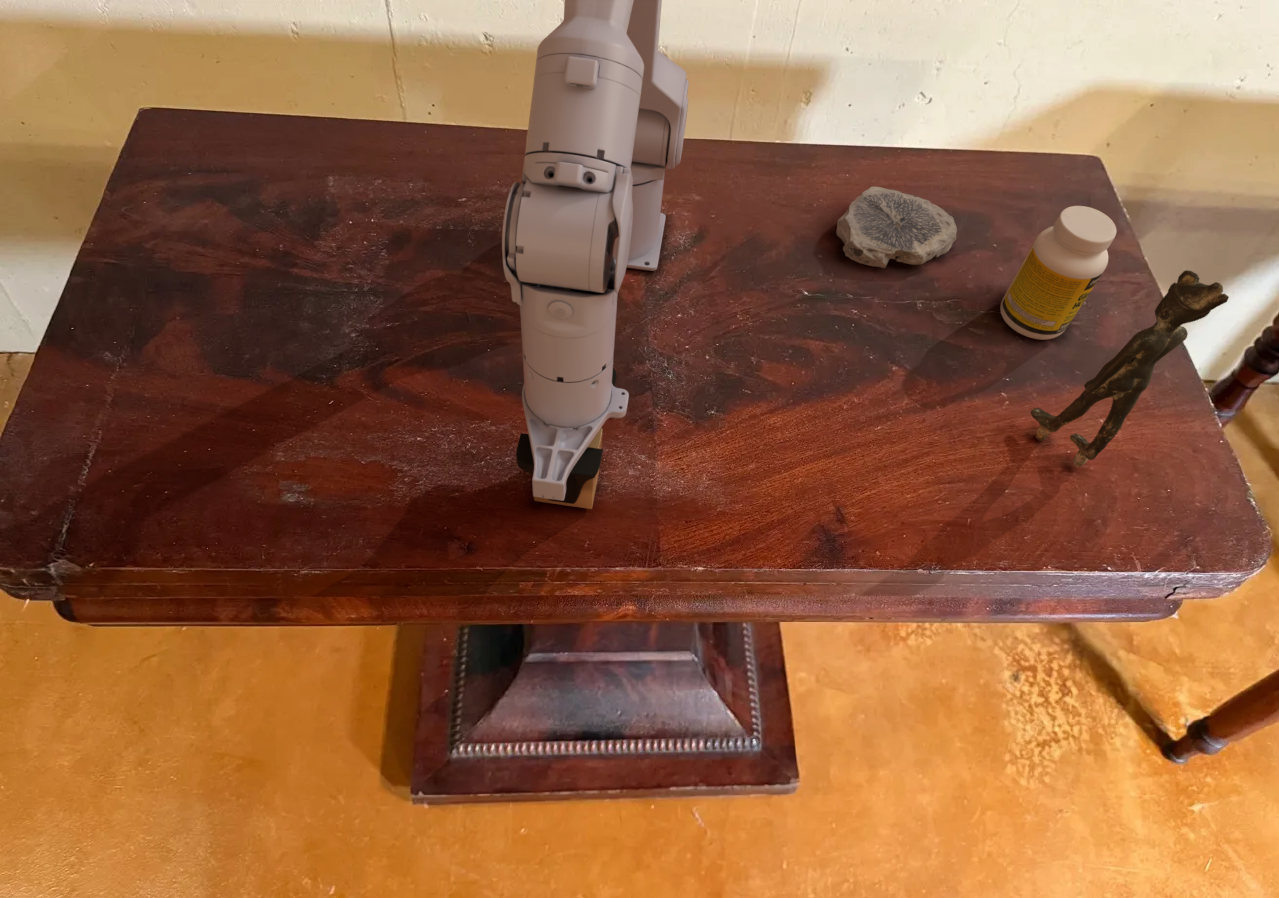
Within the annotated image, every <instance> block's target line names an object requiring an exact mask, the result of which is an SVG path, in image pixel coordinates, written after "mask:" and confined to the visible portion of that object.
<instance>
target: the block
mask: <svg viewBox="0 0 1279 898" xmlns="http://www.w3.org/2000/svg"><path fill="white" fill-rule="evenodd" d="M603 431H604V430H603V428H602V427H601V428H600V430H599V431H598V433H597V434H596V435H595V437H594V438H593V440H592V441H591V443H590V444H589V445H588V447H591V448H598V449H603ZM600 468H601V467H600ZM600 468H599V471H598V473H597V474H596V476H595V478H593V479H590V480H588V481H587V482H585V484H584V485H583V487H582V490H581V493H580V495H579V497H578V499H577V501H576V502H575V503H574V504H570V503H563V502H556V501H549V500H548V499H546V498H540V497H534V496H533V501H534V502H540V503H547V504H553V505H561V506H567V507H575V508H579V509H581V508H582V509H588V510H593V506H594V501H595V495H596V489H597V486H598V480H599V473H600Z"/></svg>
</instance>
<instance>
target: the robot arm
mask: <svg viewBox="0 0 1279 898" xmlns="http://www.w3.org/2000/svg"><path fill="white" fill-rule="evenodd" d="M662 3H663V0H564V8H563V20H562V21H561V23H560V24H559V25H558V26H557V27H556V28H555V29H554V30H552V31H551V32H550V33H549V34H548V35H547V36H546V37H545V38H543V39H542V40H541V41H540V43H539V45H538V46H537V51H536V60H535V67H534V76H533V85H532V92H531V93H532V94H531V101H530V110H529V118H528V125H527V134H526V141H525V142H526V143H525V150H524V157H523V163H522V164H523V166H522V172H521V173H522V174H521V182H522V183H520V182H519V181H514V182H513V183H512V185H511V187H510V189H509V192H508V195H507V198H506V203H505V207H504V212H503V218H502V219H503V220H502V230H501V251H502V252H501V253H502V265H503V266H502V268H503V274H504V278H505V280H506V282H508V283H509V285H510V291H511V292H510V293H511V301H512V302H513V303H516V304H517V305H518V306H519V314H520V315H519V316H520V331H521V332H520V333H521V347H522V348H521V349H522V366H523V382H524V383H523V385H522V390H521V401H522V408H523V409H522V410H523V413H524V419H525V423H526V430H527V433H525V432H521V433H520V435H519V438H518V443H517V447H516V450H515V457H516V458H515V459H516V463H517V467H518V468H519V469H520V470H522V471H524V472H527V473H528V474H529V475H531V476H532V478H531V482H532V483H531V484H532V485H531V486H532V497H533V498H534V497H540V498H546V499H548V500H549V501H556V502H563V503H570V504H574V503H575V502H576V501H577V499H578V497H579V495H580V493H581V490H582V487H583V485H584V484H585V482H587V481H588V480H590V479H593V478H595V476H596V474H597V473H598V471H599V472H600V469H599V468H601V463H602V458H603V452H604V448H602V449H598V448H591V447H588V445H589V444H590V443H591V441H592V440H593V438H594V437H595V435H596V434H597V433H598V431H599V430H600V428H602V427H603V426H604V424H605V423H606V421H607V420H608V419H610V418H611V419H612V418H615V419H622V418H624V417H625V416H626V414H627V411H628V404H629V397H630V394H629V391H628V390H627V389H624V388H620V387H616V384H617V371H616V369H615V368H614V356H615V338H616V325H617V312H618V311H617V310H618V309H617V308H618V295H619V294H618V293H619V291H620V289H621V286H622V284H623V281H624V278H625V275H626V271H627V269H635V270H641V271H642V270H644V271H650V272H653V271H656V270H658V266H659V260H660V254H661V249H662V242H663V236H664V230H665V224H666V217H667V216H666V214H665V213H663V212H662V203H663V193H664V184H665V175H666V170H667V169H668V170H674V169H675V167H677V166H678V165H680V164H681V160H682V153H683V147H684V140H685V134H686V133H685V132H686V126H687V118H688V108H689V97H688V95H689V85H690V82H689V80H688V79H687V77H688V76H687V75H688V74H687V73H688V72H687V71H686V70H685V69H683V67H681V66H680V65H679V64H677V63H676V62H675V61H673V60H672V59H671V58H669V57H668V56H667V55H665V54H664V53H663V52H661V51H660V50H659V43H660V42H659V41H660V28H661V15H662V5H663V4H662Z"/></svg>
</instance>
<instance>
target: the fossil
mask: <svg viewBox="0 0 1279 898" xmlns="http://www.w3.org/2000/svg"><path fill="white" fill-rule="evenodd" d="M957 233H958V228H957V225H956V222H955V219H954V217H953V216H952V215H949V213H948V212H947V211H945V209H943V208H941V207H940V206H938V205H937V204H934V203H932V202H931V201H930V200H928V199H925V198H922V197H921V196H916V195H914V194H913V195H912V194H908V193H902V191H900V190H895V189H889V188H885V187H881V186H873V185H872V186H870V187H869V188H868V189H866V190H864V191H862V192H861V193H860V195H858V196H857V197H856V198H854V200H853V201H851V202H850V204H849V207H848V208H847V210H846V211H845V212H844V213H843V215H842V216H840V217H839V218H838V219H837V221H836V236H837V237H838V238H839V239H840V240H841V242H843V244H844V245H843V247H842V251H843V252H844V254H845V257H847V258H849V259H850V260H852V261H855V262H856V263H858V264H861V265H866V266H870V267H877V268H882V269H885V268H886V267H887V265H888V263H889V261H890V260H895V261H896V262H897V263H903V264H907V265H908V264H909V265H913V266H918V265H923V264H925V263H926V262H927V261H930V260H932V259H933V258H939V257H940V256H943V255H944V254H946V253H947V252H949V251H950V249H951V248H952V247H953V243H954V242H956V240H957Z"/></svg>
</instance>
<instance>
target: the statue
mask: <svg viewBox="0 0 1279 898" xmlns="http://www.w3.org/2000/svg"><path fill="white" fill-rule="evenodd" d="M1223 292H1224V287H1223V284H1222V283H1220V282H1217V281H1215V282H1213V283H1211V284H1206V283H1202V282H1200V277H1199V274H1197V273H1195V272H1194V271H1192V270H1184V271H1182V273H1180V274H1179V276H1178V277H1177V281H1174V282H1173V283H1171V284H1170V285H1169V288H1168V290H1167V293H1166V294H1165V295H1164V296H1163V297H1162V299H1161V300H1160V302H1159V303H1158V305H1157V306H1156V308H1155V310H1154V315H1155V319H1156V322H1155V323H1154V324H1153V325H1151V326H1150V327H1147V328H1145V329H1142V330H1140V331H1138V332H1136V333H1135V334H1133V336H1132V337H1131V339H1129V341H1128V342H1127V343H1126V344H1125V345H1124V347H1122V348H1121V349H1120V350H1119V352H1118V353H1116V355H1115V356H1114V357H1113V358H1112V359H1110V360H1109V361H1108V362H1107V363H1105V364H1104V365H1103V367H1102V368H1101V369H1100V371H1098V373H1096V375H1095V376H1094V377H1093V378H1092V379H1090V380H1088V381H1086V382H1085V383H1084V385H1083V388H1084V390H1083V391H1082V392H1081V394H1080V395H1079V396H1078V397H1077V398H1075V399H1073V401H1072V402H1071V403H1070V404H1069V405H1068V406H1067V407H1066V408H1065V409H1063V410H1062V411H1061V412H1060V413H1059V414H1058V415H1054V414H1051V413H1049V412H1047V411H1045V410H1044V409H1042V408H1040V407H1037V408H1036V407H1034V408H1033V409H1032V410H1031V411H1030V415H1031V418H1033V419H1034V420H1035V421H1036V422H1038V424H1039V426H1038V428H1037V430H1036V431H1035V433H1034V437H1035V438H1036V440H1037V441H1039V442H1044V441H1045V440H1046V439H1047V438H1048V437H1049V436H1050V435H1051V434H1053V433H1056V432H1058V431H1059V430H1060V429H1061V428H1062V427H1064V426H1066V425H1068V424H1070V423H1071V422H1074V421H1075V420H1078V419H1079V418H1082V417H1083V416H1084V415H1085V414H1087V412H1089V410H1090V409H1091V408H1092V407H1093V405H1095V404H1096V403H1098V402H1100V401H1103V400H1105V399H1108V398H1110V399H1111V398H1112V403H1111V407H1110V410H1109V413H1108V415H1107V416H1106V418H1105V420H1104V421H1103V423H1102V425H1101V426H1100V427H1099V430H1098V432H1097V434H1096V435H1095V437H1094V438H1093V440H1092V441H1091V442H1089V441H1088V440H1087V439H1086V438H1085V437H1084V436H1082V435H1080V434H1078V433H1073V434H1070V436H1069V440H1070V441H1071V442H1072V443H1073V444H1074V445H1075V446H1076V447H1077V448H1078V451H1077V452H1076V454H1075V456H1074V457H1073V458H1072V464H1073V465H1074V466H1075V467H1077V468H1080V467H1082V466H1085V465H1086V464H1087V462H1088V461H1094V459H1096V458H1097V457H1098V455H1099V454H1100V453H1101V452H1102V451H1104V450H1105V448H1106V447H1107V446H1108V444H1109V443H1110V442H1111V441H1112V440H1113V439H1114V438H1115V437H1116V435H1118V433H1119V432H1120V431H1121V429H1122V427H1123V424H1124V422H1125V420H1126V418H1127V417H1128V415H1129V414H1130V412H1131V411H1133V408H1134V407H1135V405H1137V402H1138V400H1139V399H1140V397H1141V396H1142V393H1143V392H1145V391H1146V390H1147V388H1148V387H1149V385H1150V383H1151V379H1152V376H1153V373H1154V369H1155V366H1156V364H1157V363H1158V362H1159V361H1160V360H1161V359H1162V358H1164V357H1165V356H1166V355H1168V354H1169V353H1170V352H1171V351H1173V350H1174V349H1176V348H1177V347H1178V346H1180V345H1181V344H1182V343H1183V342H1184V341H1186V340H1187V338H1188V330H1187V328H1186V327H1185V326H1182V325H1184V324H1189V323H1193V322H1196V321H1198V320H1202V319H1203V318H1206V317H1207V316H1208V315H1209V314H1210V312H1211V311H1213V310H1214V309H1216V308H1217V307H1219V306H1222V305H1224V304H1226V303H1228V300H1229V299H1230V297H1229V295H1227V294H1226V293H1223Z"/></svg>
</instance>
